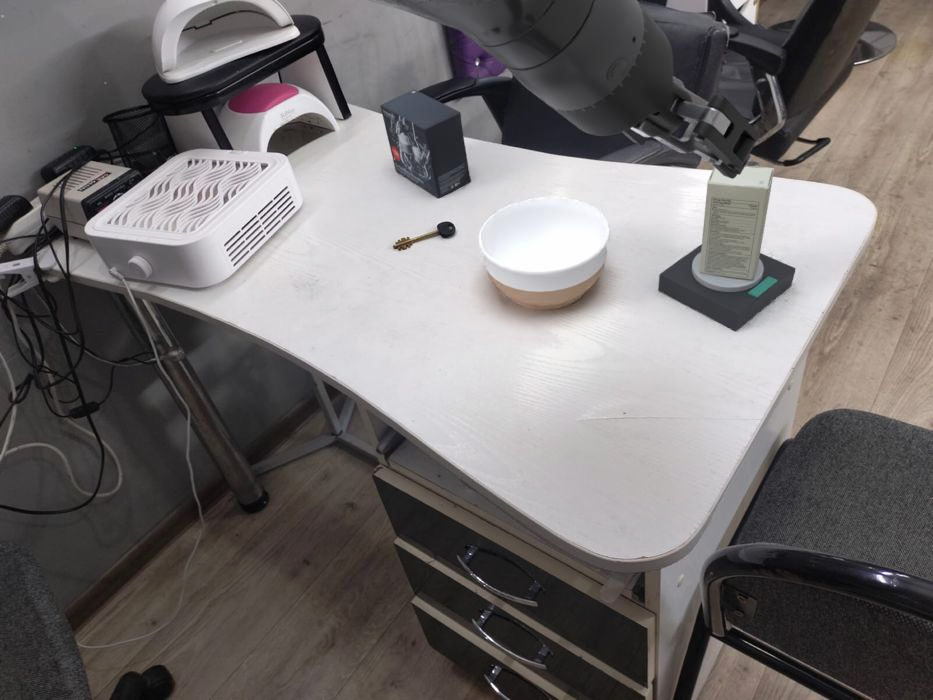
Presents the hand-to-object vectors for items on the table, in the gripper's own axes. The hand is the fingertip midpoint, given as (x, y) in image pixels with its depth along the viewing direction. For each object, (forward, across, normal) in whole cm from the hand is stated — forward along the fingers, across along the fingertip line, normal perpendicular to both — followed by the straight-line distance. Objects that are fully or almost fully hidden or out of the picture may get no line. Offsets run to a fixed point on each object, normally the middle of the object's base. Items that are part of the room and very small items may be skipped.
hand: (689, 148), depth 53 cm
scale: (+33, +6, +7) cm, 34 cm away
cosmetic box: (+31, +6, +5) cm, 32 cm away
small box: (+28, +57, +12) cm, 65 cm away
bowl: (+24, +23, +17) cm, 37 cm away
